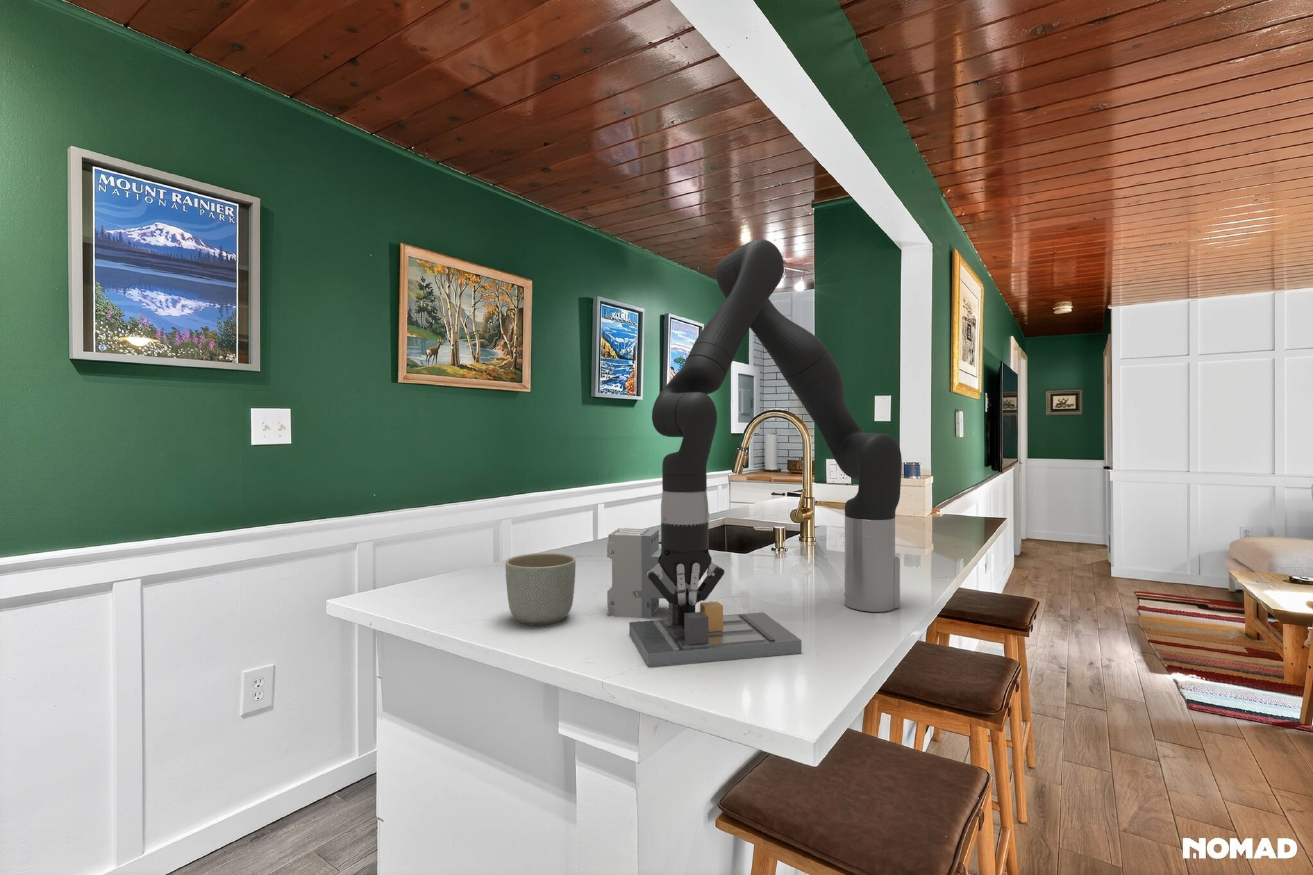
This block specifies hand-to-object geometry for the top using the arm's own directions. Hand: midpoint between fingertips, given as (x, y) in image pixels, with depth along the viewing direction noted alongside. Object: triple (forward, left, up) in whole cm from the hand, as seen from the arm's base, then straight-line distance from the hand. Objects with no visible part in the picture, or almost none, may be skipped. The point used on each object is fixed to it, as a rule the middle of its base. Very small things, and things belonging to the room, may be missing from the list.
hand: (685, 627), depth 102 cm
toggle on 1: (0, -5, 0) cm, 5 cm away
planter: (+22, -19, -3) cm, 29 cm away
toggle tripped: (-4, 0, 0) cm, 4 cm away
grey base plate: (-4, 0, -3) cm, 5 cm away
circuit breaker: (+2, -19, -3) cm, 19 cm away
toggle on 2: (0, +5, 0) cm, 5 cm away
